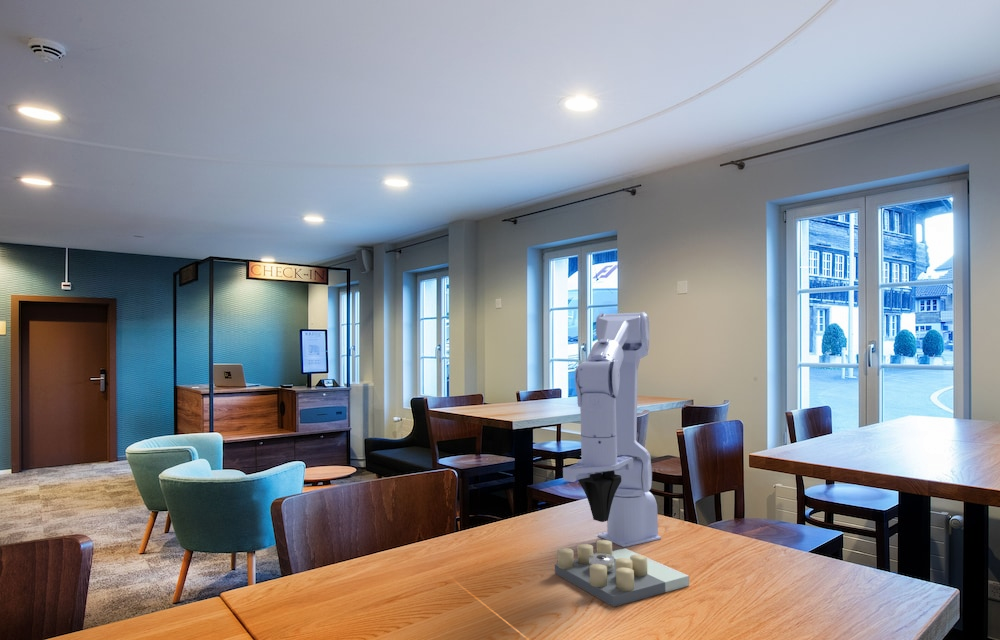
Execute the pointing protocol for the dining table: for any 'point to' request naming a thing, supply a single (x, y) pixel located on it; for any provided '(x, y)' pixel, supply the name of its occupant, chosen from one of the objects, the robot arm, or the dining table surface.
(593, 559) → the steel nut
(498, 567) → the dining table surface
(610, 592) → the board
